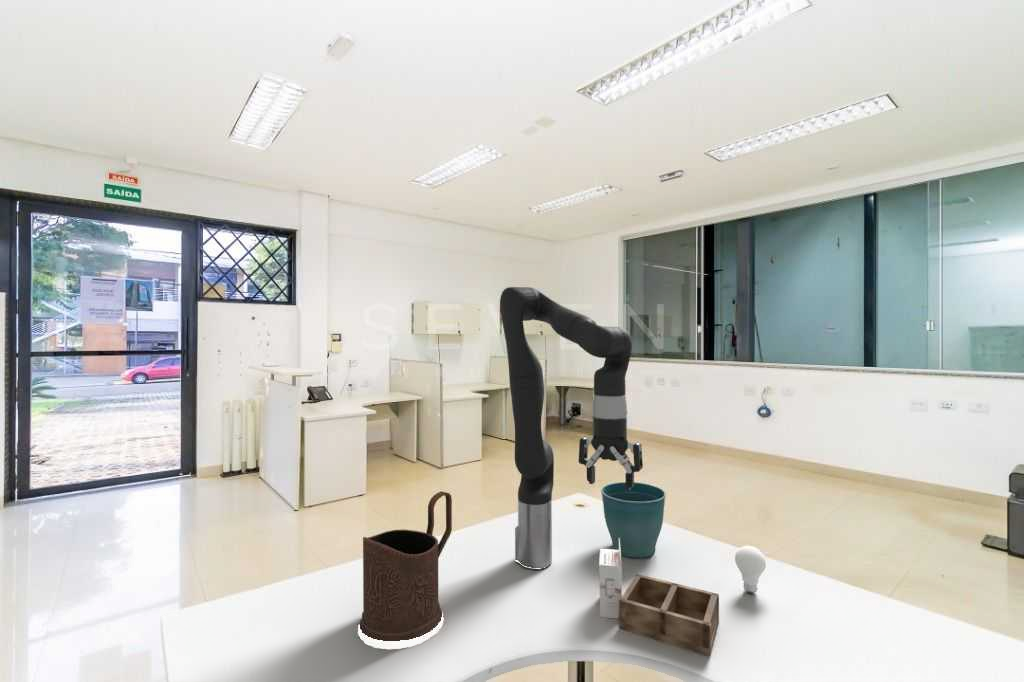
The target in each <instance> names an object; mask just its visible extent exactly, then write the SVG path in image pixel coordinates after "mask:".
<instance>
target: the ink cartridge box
mask: <svg viewBox="0 0 1024 682" xmlns="http://www.w3.org/2000/svg"><path fill="white" fill-rule="evenodd" d="M598 557H599V558H598V559H599V560H598V568H599V569H598V571H599V573H598V574H599V575H598V576H599V577H598V578H599V579H598V580H599V616H600V617H599V618H607V619H615V620H617V619H618V620H619V599H620V598H621V597H622V596H623V590H622V589H623V588H622V585H623V584H622V583H623V581H622V580H623V578H622V577H623V576H622V575H623V574H622V555H621V547H620V538H619V550H614V549H613V548H612V549H609V548H600V549H599V555H598Z"/></svg>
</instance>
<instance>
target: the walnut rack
mask: <svg viewBox="0 0 1024 682" xmlns="http://www.w3.org/2000/svg"><path fill="white" fill-rule="evenodd" d="M719 623H720V594H719V593H716V592H713V591H712V592H711V591H707V590H705V589H704V590H703V589H700V588H696V587H692V586H687V585H683V584H680V583H675V582H671V581H667V580H662V579H660V578H655V577H652V576H648V575H643V574H639V573H635V574H634V578H632V581H631V582H630V583H629V585H628V586H627V588H626V589H625V592H623V593H622V597H621V598H620V599H619V619H618V629H620V630H623V631H626V632H629V633H633V634H635V635H639V636H641V637H646V638H648V639H652V640H655V641H658V642H661V643H664V644H667V645H670V646H674V647H677V648H681V649H684V650H687V651H690V652H693V653H696V654H699V655H703V656H706V657H709V658H711V655H712V653H713V647H714V643H715V641H716V636H717V631H718V627H719Z"/></svg>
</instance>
